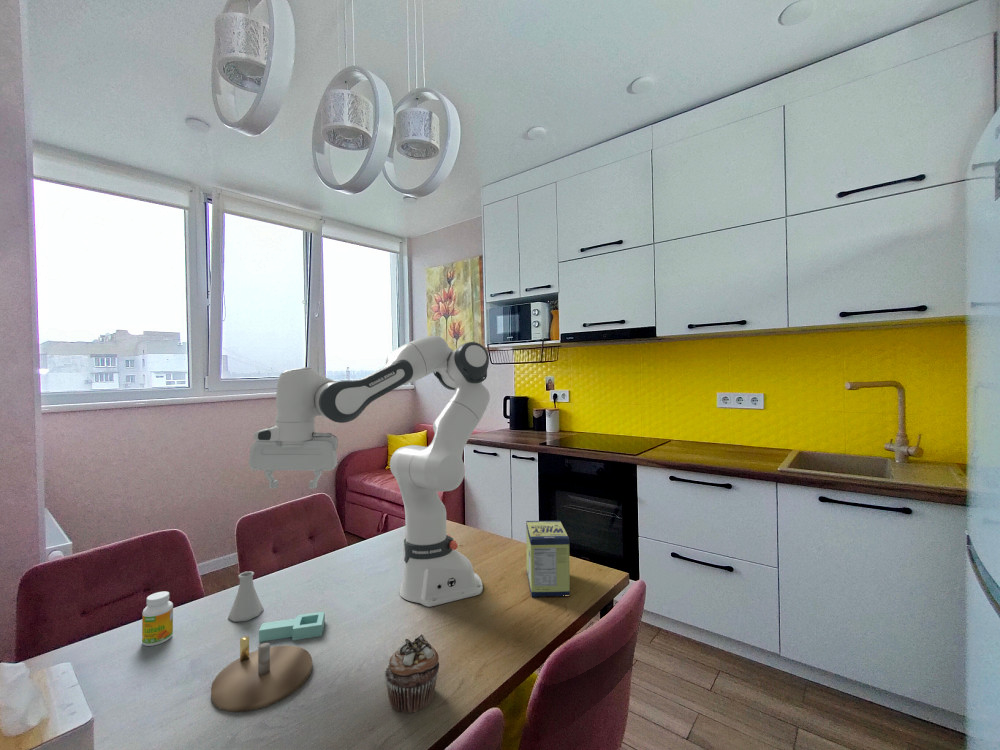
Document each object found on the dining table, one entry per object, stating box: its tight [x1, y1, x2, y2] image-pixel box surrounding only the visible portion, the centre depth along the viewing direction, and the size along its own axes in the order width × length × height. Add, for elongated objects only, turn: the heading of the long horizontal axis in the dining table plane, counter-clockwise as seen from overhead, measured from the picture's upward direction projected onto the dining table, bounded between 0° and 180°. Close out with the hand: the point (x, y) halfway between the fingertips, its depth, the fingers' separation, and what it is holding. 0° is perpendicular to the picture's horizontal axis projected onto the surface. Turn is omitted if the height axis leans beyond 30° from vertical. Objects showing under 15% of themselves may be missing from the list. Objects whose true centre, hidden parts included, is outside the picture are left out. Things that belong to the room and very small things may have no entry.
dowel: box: [239, 635, 250, 661], centre depth 88 cm, size 2×2×4 cm
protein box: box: [525, 520, 571, 598], centre depth 122 cm, size 10×16×16 cm
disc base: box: [210, 642, 313, 713], centre depth 84 cm, size 17×17×6 cm
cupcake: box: [384, 633, 440, 714], centre depth 79 cm, size 10×10×10 cm
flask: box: [227, 571, 264, 623], centre depth 107 cm, size 7×7×10 cm
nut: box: [258, 610, 326, 643], centre depth 99 cm, size 13×6×2 cm, turn 106°
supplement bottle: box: [141, 590, 174, 647], centre depth 97 cm, size 5×5×10 cm
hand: (293, 488), depth 108 cm, fingers open, 8 cm apart
